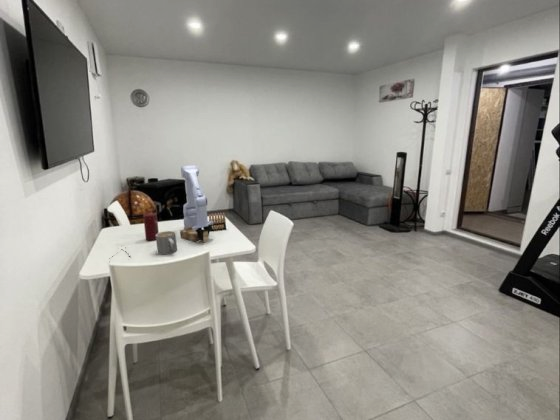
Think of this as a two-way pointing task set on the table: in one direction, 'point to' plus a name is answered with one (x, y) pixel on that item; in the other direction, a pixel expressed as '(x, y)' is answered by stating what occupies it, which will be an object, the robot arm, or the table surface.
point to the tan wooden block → (205, 237)
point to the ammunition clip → (216, 224)
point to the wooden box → (189, 237)
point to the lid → (189, 231)
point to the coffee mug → (166, 242)
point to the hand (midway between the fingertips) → (204, 238)
